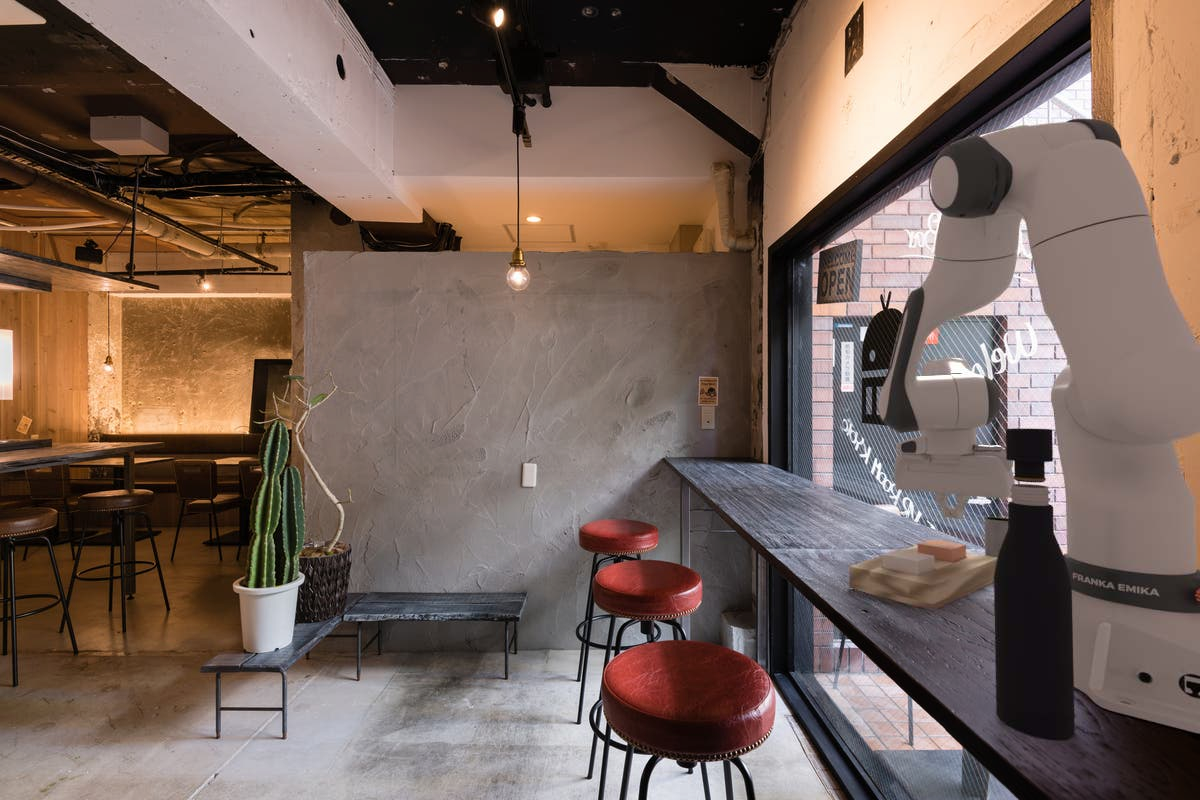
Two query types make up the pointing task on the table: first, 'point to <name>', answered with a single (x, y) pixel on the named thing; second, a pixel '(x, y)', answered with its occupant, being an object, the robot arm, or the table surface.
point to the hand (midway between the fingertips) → (952, 517)
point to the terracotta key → (943, 550)
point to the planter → (994, 534)
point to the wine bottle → (1033, 602)
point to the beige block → (908, 562)
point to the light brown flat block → (924, 580)
